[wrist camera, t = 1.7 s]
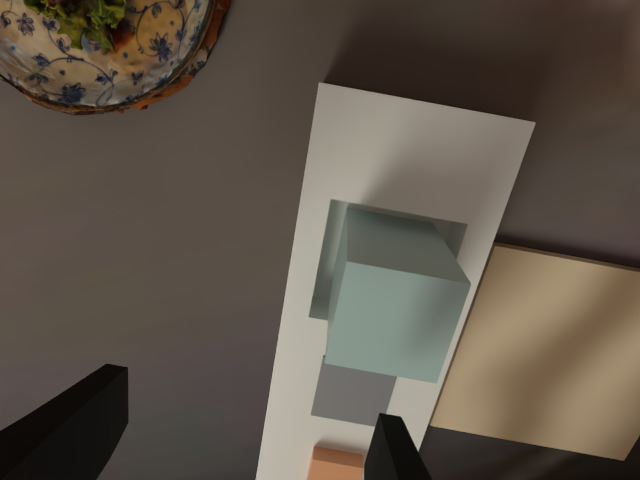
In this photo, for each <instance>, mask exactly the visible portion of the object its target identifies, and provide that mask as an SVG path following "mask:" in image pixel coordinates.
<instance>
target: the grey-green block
mask: <svg viewBox="0 0 640 480" xmlns="http://www.w3.org/2000/svg"><path fill="white" fill-rule="evenodd" d="M470 287H471V283H470V281H469V279H468V278H467V276H466V275H465V273H464V271H463V270H462V268H461V267H460V265H459V264H458V262H457V260H456V259H455V257H454V256H453V254H452V252H451V251H450V249H449V248H448V246H447V244H446V243H445V241H444V240H443V238H442V236H441V235H440V233H439V232H438V230H437V228H436V227H435V225H434V224H433V223H430V222H424V221H419V220H413V219H408V218H402V217H397V216H391V215H386V214H381V213H375V212H370V211H364V210H359V209H353V208H348V207H347V208H346V213H345V217H344V222H343V227H342V232H341V237H340V242H339V247H338V252H337V257H336V261H335V266H334V271H333V276H332V281H331V288H330V301H329V314H328V327H327V340H326V353H325V364H331V365H336V366H342V367H347V368H353V369H358V370H364V371H369V372H375V373H380V374H386V375H391V376H397V377H402V378H408V379H413V380H419V381H424V382H430V383H436V384H437V381H438V378H439V375H440V372H441V370H442V367H443V364H444V361H445V358H446V355H447V352H448V350H449V347H450V344H451V341H452V338H453V335H454V332H455V330H456V327H457V324H458V321H459V318H460V315H461V312H462V310H463V307H464V304H465V301H466V298H467V295H468V292H469V290H470Z"/></svg>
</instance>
